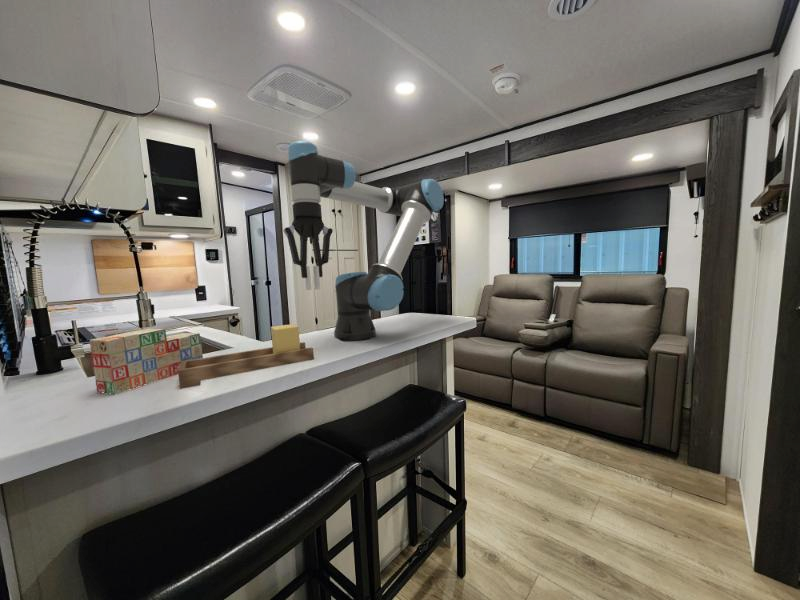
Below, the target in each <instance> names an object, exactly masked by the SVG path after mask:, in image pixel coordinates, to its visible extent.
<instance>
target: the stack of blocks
mask: <svg viewBox="0 0 800 600" xmlns="http://www.w3.org/2000/svg"><path fill="white" fill-rule="evenodd" d="M201 342H202V341H201V333H199V332H198V333H197V332H191V333H190V332H181V333H177V334H171V335H167V333H166V328H145V329H144V328H143V329H140V330H133V331H127V332H124V333H118V334H114V335H109V336H103V337H99V338H92V339H89V344H90V351H91V353H90V356H91V357H90V358H91V363H92V367H93V371H94V372H93V373H94V377H95V386H96V391H97V392H96V393H98V392H104V393H111V394H110V395H112V394H117V395H119V394H118V393H120V394H122V393H121V392H123V393H125V392H124V391H126V392H128V391H127V390H129V389H132V390H134V389H133V388H135V389H137V388H136V387H138V386H141V385H144V384H147V385H149V384H148V383H150V384H152V383H151V382H153V383H155V382H154V381H156V382H158V381H157V380H159V381H161V380H160V379H162V380H164V379H163V378H165V379H167V378H170V377H173V376H175V375H178V369H179V366H180V363H181V361H187V360H194V359H200V358H204V356H203V347H202V343H201ZM172 375H173V376H172ZM166 377H167V378H166ZM144 386H145V385H144ZM141 387H142V386H141ZM138 388H139V387H138ZM129 391H130V390H129ZM104 393H103V394H104Z"/></svg>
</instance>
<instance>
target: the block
mask: <svg viewBox="0 0 800 600" xmlns="http://www.w3.org/2000/svg"><path fill="white" fill-rule="evenodd" d="M270 333H271V343H272V345H271V346H272V347H273V354H275V353H281V352H287V351H293V350H299V349H300V343H301V342H300V340H301V339H300V330H299V326H297V325H296V324H294V323H290V324H284V325H282V324H281V325H275V326H270Z"/></svg>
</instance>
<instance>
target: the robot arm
mask: <svg viewBox="0 0 800 600" xmlns="http://www.w3.org/2000/svg"><path fill="white" fill-rule="evenodd" d="M287 152H288V153H287V154H288V160H287V161H288V165H289V177H290V178H289V179H290V188H291V189H290V190H291V202H292V203H293V204H292V216H293V221H292V223H291V225H290V226H288V227H285V228H284V229H283V232H284V234H285V237H286V238H287V242H288V245H289V251H290V254H291V258H292V263H293V264H294V265H297V266H299V267H300V271H301V272H300V274H301V278H302V279H305V280H304V281H305V290H306V291H312V281H311V280H312V279H311V268H310V267H311V266H307V264H308V240H309V239H310V241H311V244H312V251H313V257H314V261H315V265H313V267H312V268H313V269H312V270H313V282H314V283H313V284H314V289H315V290H321V280H320V279H321V278H323V265H325V264H327V263H329V257H330V244H331V243H330V242H331V235H332V234H333V232H334V229H333V228H331V227H330V228H329V227H327V226H326V225H325V224H324V222H323V218H322V217H323V216H322V204H321V202H322V201H321V199H322V198H325V199H330V200H334V201H339V202H345V203H348V204H349V203H350V204H353V205H358V206H363V207H368V208H372V209H377V211H379V212H380V213H382V214H383V213H384V214H389V215H393V216H399V217H400V218H399V219H398V221H397V224H396V226H395V228H394V230H393V232H392V234H391V236H390V238H389V240H388V241H387V244H386V246H385V248H384V250H383V252H382V254H381V256H380V258H379V260H378V263H374V264H372V265H371V266H370V269H369V270H368V272H367V271H355V272H350V273H348V272H346V273H341V274H339V275H337V276H336V278H335V285H334V288H335V296H336V308H337V320H336V323H335V327H334V330H333V334H334V335H333V338H335V339H338V341H341V340H342V341H344V342H352V341H363V339H364V340H367V338H369V339H371V337H372V338H374V337H376V336H377V330H376V327H375V325H374V322H373V319H372V316H371V312H370V311H377V312H384V311H385V312H386V311H387V312H388V311H391V310H394V309H395V308H397V306H399V304H400V303H401V302H402V300H403V298H404V294H405V293H404V292H405V291H404V288H405V287H404V282H403V276H402V272H403V269H404V267H405V265H406V262H407V260H408V258H409V256H410V254H411V252H412V249H413V248H414V245H415V244H416V241H417V239H418V237H419V235H420V233H421V229H422V228H423V225H424V224H425V223H428V222H429V221H430V220H431V218H432V215H433V214H434V212H438V211H440V210H441V209H442V208H443V206H444V201H445V198H444V193H443V189H442V187H441V185H440V183H439V182H438V181H437V180H435V179H433V178H425V179H422V180H420V181H417V182H412V183H410V184H406V185H402V186H399V187H394V188H393V187H392V188H391V187H388V186H383V187H382V188H380V187H378V186H377V187H376V186H373V185H370V184H366V183H361V182H358V181H356V178H357V173H356V172H357V171H356V169H355V167H354V165H353V164H352V163H350V162H347V161H344V160H342V159H336V158H331V157H327V156H324V155H322V154H319V151H318V147H317V146H316V144H315V143H313V142H311V141H308V140H307V141H305V140H297V141H296V140H295V141H294V142H292V143H290V144H289V146H288V151H287ZM295 232H296V234H297V235H299V243H300V244H299V246H300V247H299V248H300V249H299V250H300V251H299V253H298V248H297V243H296V239H295V235H294V234H295ZM321 232H322V234H323V238H322V249H321V247H320V236H319V235H320V234H321ZM321 250H322V251H321ZM321 252H322V253H321ZM299 255H300V256H299ZM375 335H376V336H375ZM373 336H374V337H373Z"/></svg>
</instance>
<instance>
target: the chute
mask: <svg viewBox="0 0 800 600" xmlns="http://www.w3.org/2000/svg"><path fill="white" fill-rule="evenodd" d="M314 355H315V354H314V347H306V342H305V341H303V342H300V349H299V350H293V351H287V352H281V353H275V354H273V347H271V346H269V347H265V348H259V349H253V350H252V349H251V350H246V351H238V352H233V353H232V352H231V353H226V354H221V355H220V354H219V355H215V356H209V357H208V356H207V357H203V358H200V359H194V360H187V361H181V363H180V366H179V369H178V374H177V375H178V376H177V377H178V383H179V389H186V388H190V387H196V386H200V385H201V383H202V382H201V381H206V380H211V379H217V378H221V377H227V376H232V375H236V374H238V375H239V374H243V373H248V372H252V371H253V372H254V371H259V370H265V369H270V368H275V367H280V366H285V365H290V364H296V363H301V362H306V361H307V362H308V361H312V360H314V359H315V356H314Z"/></svg>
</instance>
